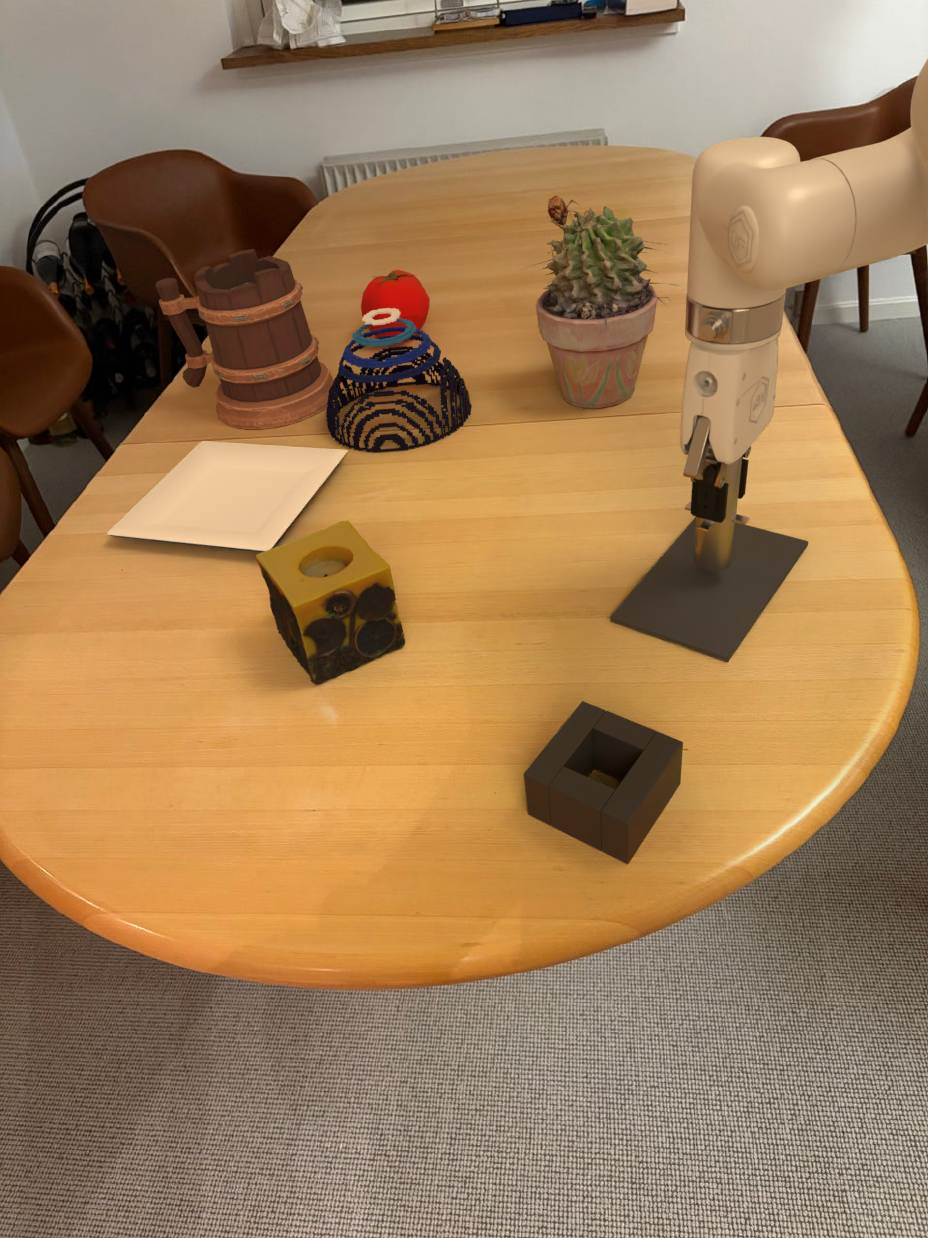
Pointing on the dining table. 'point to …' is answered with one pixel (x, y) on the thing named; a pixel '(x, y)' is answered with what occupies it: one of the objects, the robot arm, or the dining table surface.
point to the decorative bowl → (394, 385)
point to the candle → (332, 601)
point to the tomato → (396, 300)
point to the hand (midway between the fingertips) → (717, 504)
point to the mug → (251, 341)
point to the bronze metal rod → (719, 526)
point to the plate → (230, 495)
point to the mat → (710, 591)
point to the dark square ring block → (594, 807)
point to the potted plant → (596, 307)
